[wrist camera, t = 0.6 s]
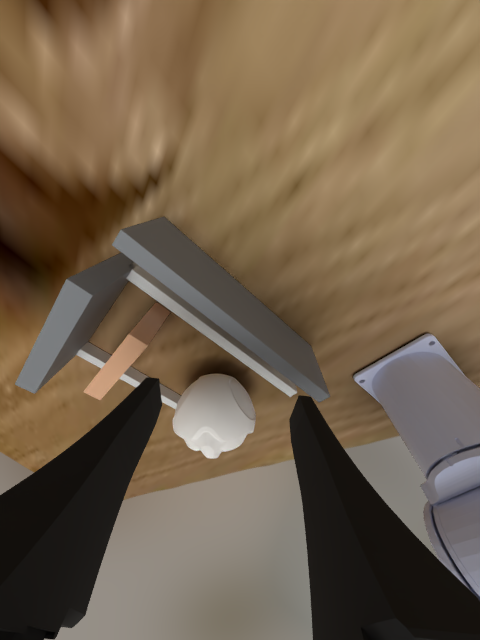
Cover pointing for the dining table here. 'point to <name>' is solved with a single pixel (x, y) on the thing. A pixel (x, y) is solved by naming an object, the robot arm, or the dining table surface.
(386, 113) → the dining table surface
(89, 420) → the dining table surface
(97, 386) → the tan rectangular box
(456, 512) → the robot arm
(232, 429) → the white rounded piece
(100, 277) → the rail mount
